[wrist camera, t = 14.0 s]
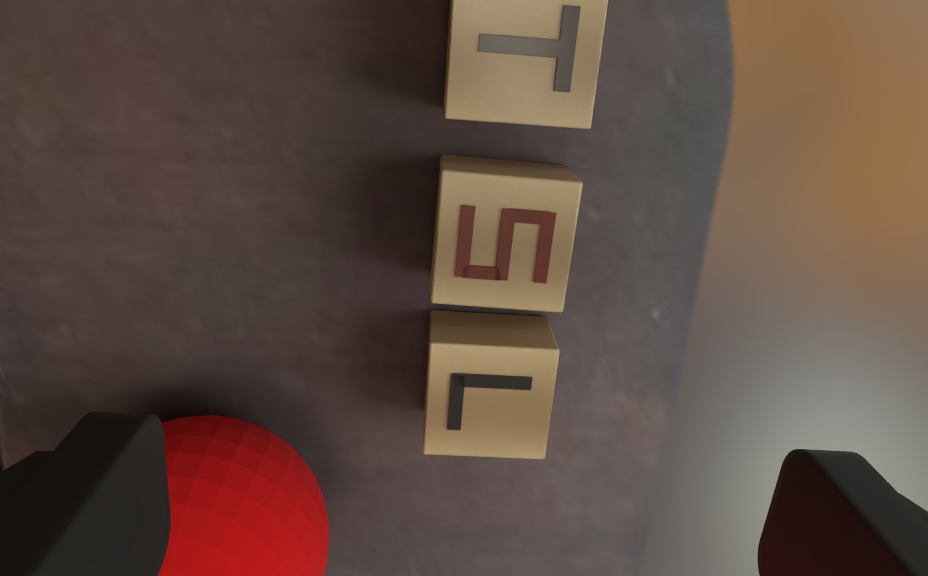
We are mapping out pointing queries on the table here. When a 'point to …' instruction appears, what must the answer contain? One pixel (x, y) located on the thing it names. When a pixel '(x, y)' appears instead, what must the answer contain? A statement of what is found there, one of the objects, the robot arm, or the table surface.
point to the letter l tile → (489, 385)
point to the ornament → (240, 502)
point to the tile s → (503, 233)
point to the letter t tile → (524, 61)
